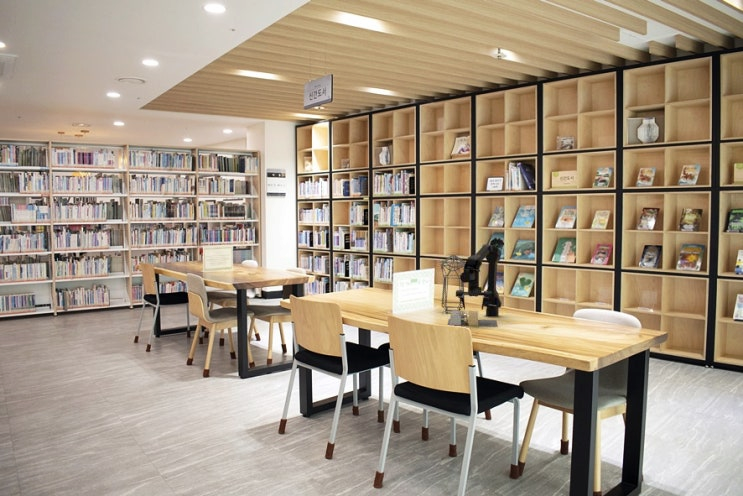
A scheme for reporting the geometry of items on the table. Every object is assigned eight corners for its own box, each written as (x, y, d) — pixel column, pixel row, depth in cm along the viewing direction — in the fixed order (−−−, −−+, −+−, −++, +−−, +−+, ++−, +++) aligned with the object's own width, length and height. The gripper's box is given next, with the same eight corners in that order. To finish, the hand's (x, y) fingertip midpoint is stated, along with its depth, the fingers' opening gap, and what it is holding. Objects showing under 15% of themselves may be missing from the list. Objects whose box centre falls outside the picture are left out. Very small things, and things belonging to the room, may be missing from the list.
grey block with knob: (451, 319, 323) (451, 310, 323) (467, 319, 322) (467, 310, 321) (450, 325, 307) (450, 315, 307) (466, 325, 306) (467, 316, 306)
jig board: (448, 320, 324) (448, 318, 324) (496, 322, 320) (496, 320, 320) (447, 327, 307) (447, 325, 307) (497, 328, 302) (497, 327, 302)
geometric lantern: (466, 310, 356) (467, 253, 352) (465, 315, 340) (466, 256, 337) (440, 309, 358) (441, 252, 355) (438, 314, 343) (439, 255, 340)
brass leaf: (463, 319, 322) (463, 310, 322) (478, 320, 321) (478, 311, 320) (463, 325, 306) (463, 316, 306) (478, 326, 305) (478, 316, 305)
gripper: (455, 282, 305) (455, 311, 306) (491, 283, 302) (491, 312, 303) (456, 279, 316) (455, 308, 317) (491, 280, 313) (490, 309, 314)
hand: (473, 309), depth 313 cm, fingers open, 9 cm apart
